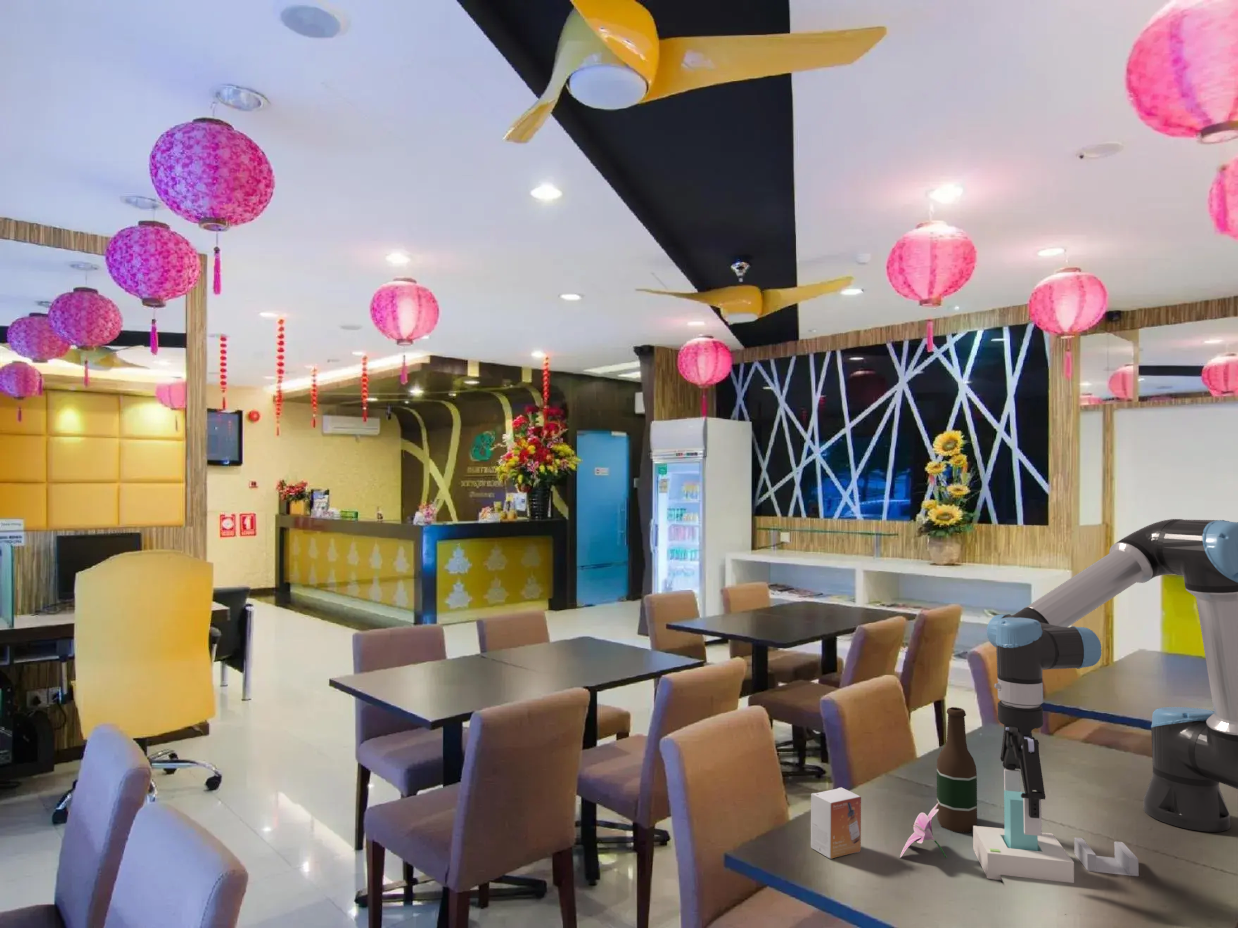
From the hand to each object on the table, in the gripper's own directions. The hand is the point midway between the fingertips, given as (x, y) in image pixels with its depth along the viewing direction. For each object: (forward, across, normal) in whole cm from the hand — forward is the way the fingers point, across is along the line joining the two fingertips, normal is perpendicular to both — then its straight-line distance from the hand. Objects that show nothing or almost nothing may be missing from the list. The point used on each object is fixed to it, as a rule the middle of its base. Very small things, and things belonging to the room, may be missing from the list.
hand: (1022, 818), depth 145 cm
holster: (+9, -3, +15) cm, 17 cm away
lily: (+9, -1, -17) cm, 20 cm away
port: (+9, 0, 0) cm, 9 cm away
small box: (+9, +1, -33) cm, 35 cm away
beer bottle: (+9, -17, -8) cm, 21 cm away
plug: (+8, 0, 0) cm, 8 cm away
